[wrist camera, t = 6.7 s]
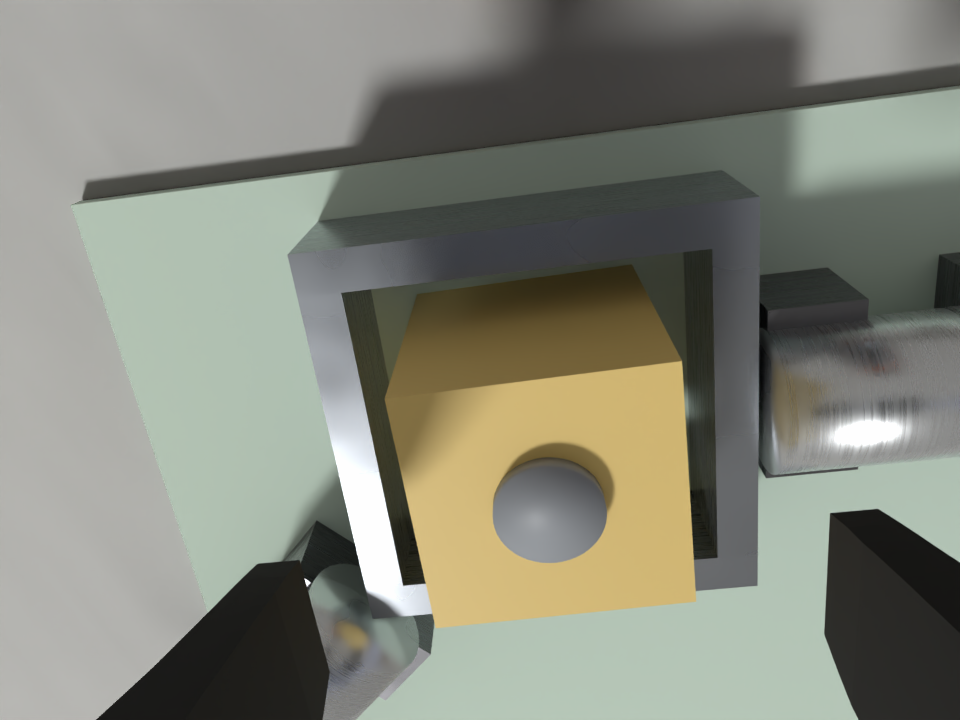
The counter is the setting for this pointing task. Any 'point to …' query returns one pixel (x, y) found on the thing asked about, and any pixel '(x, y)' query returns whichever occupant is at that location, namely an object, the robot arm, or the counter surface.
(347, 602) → the shaft
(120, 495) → the counter surface
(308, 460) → the mat
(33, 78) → the counter surface
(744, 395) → the frame
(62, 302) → the counter surface
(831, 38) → the counter surface
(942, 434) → the shaft
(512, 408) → the yellow block
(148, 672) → the robot arm
